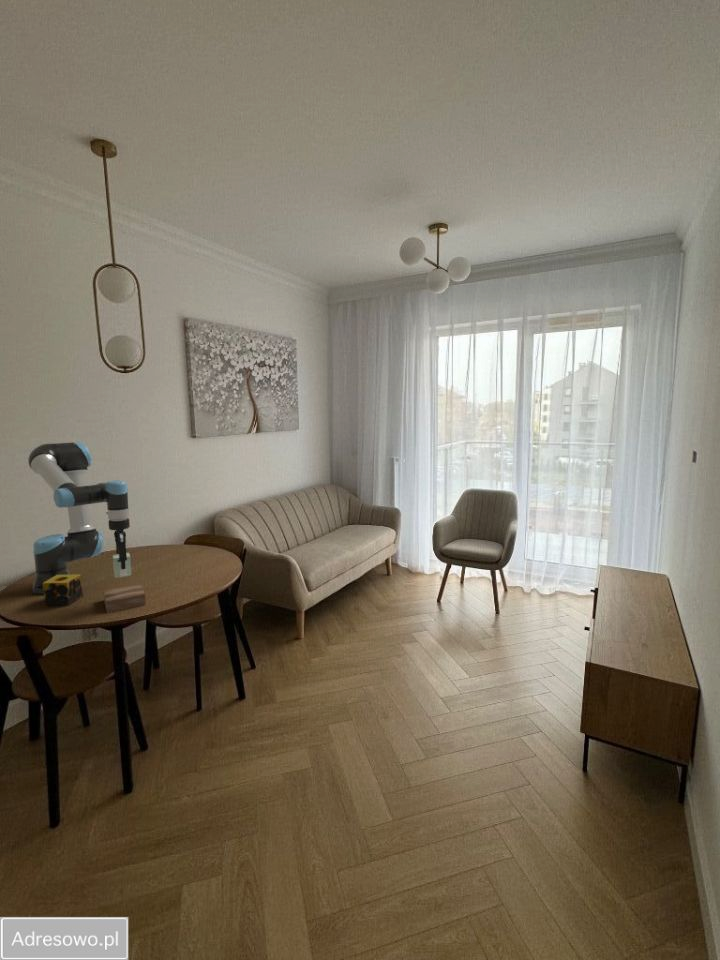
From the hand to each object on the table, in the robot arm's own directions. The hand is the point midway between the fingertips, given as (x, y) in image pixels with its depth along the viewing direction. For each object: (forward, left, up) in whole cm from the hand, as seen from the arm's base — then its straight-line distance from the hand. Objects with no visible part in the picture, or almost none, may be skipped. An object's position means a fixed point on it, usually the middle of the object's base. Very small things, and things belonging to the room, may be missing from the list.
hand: (122, 573), depth 190 cm
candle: (-15, -21, -13) cm, 29 cm away
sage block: (0, 0, 0) cm, 0 cm away
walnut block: (0, 0, -13) cm, 13 cm away
